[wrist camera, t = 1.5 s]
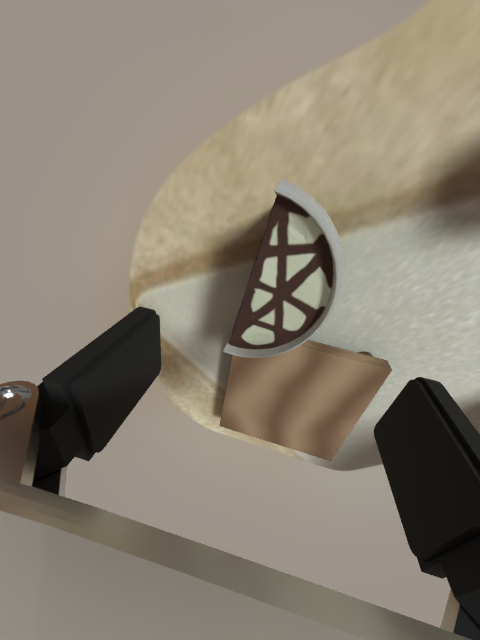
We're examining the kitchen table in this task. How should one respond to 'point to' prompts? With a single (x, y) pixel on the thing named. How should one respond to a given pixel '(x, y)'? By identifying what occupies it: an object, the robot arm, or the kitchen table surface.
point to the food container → (289, 278)
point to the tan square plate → (302, 396)
